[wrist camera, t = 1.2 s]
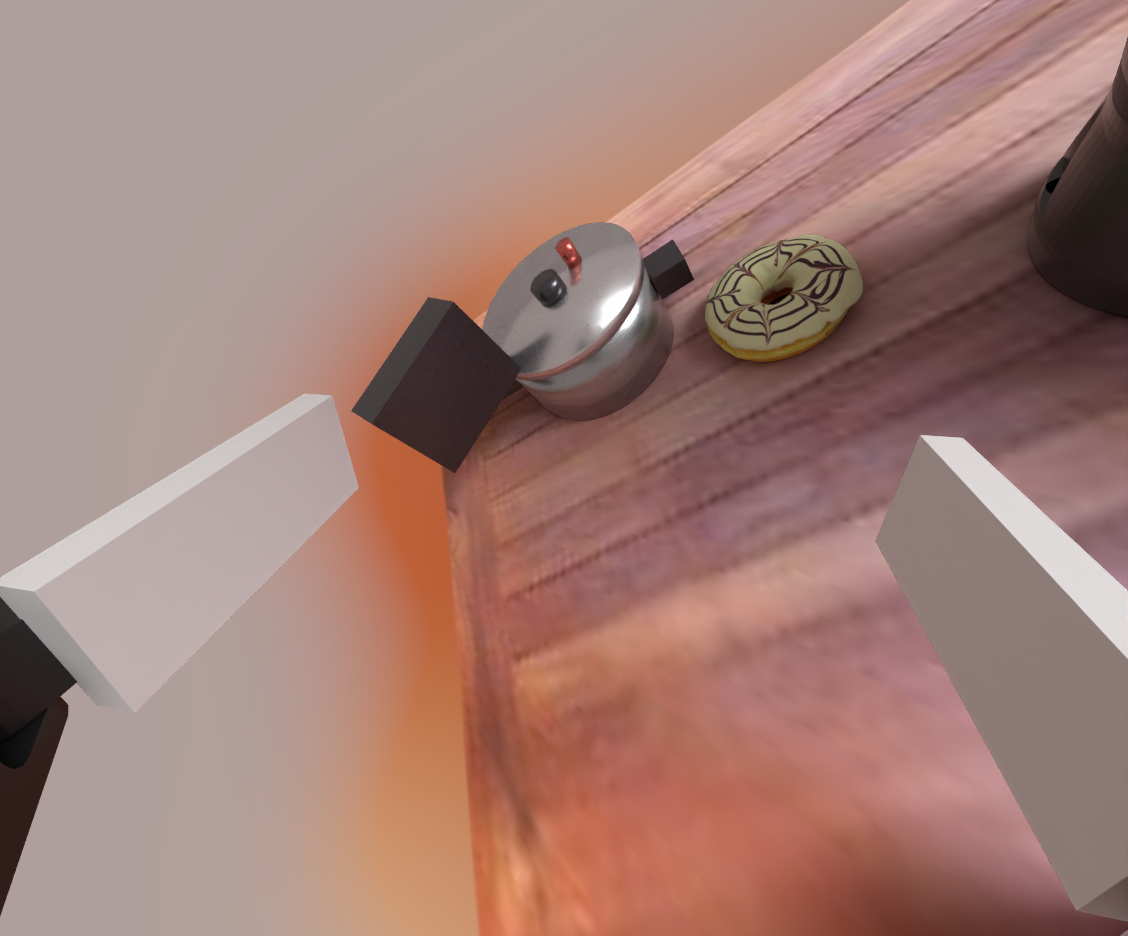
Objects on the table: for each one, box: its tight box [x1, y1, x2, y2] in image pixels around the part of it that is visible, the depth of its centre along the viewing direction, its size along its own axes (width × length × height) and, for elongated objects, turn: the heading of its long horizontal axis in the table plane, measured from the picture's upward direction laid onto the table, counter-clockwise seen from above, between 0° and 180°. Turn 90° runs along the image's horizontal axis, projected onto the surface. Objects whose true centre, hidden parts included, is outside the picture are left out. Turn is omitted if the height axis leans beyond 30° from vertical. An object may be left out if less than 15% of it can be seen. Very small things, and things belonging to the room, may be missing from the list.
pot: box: [502, 240, 694, 421], centre depth 46 cm, size 26×15×7 cm, turn 104°
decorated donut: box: [705, 235, 863, 362], centre depth 37 cm, size 10×11×4 cm
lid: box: [352, 222, 644, 473], centre depth 38 cm, size 25×16×9 cm, turn 144°
